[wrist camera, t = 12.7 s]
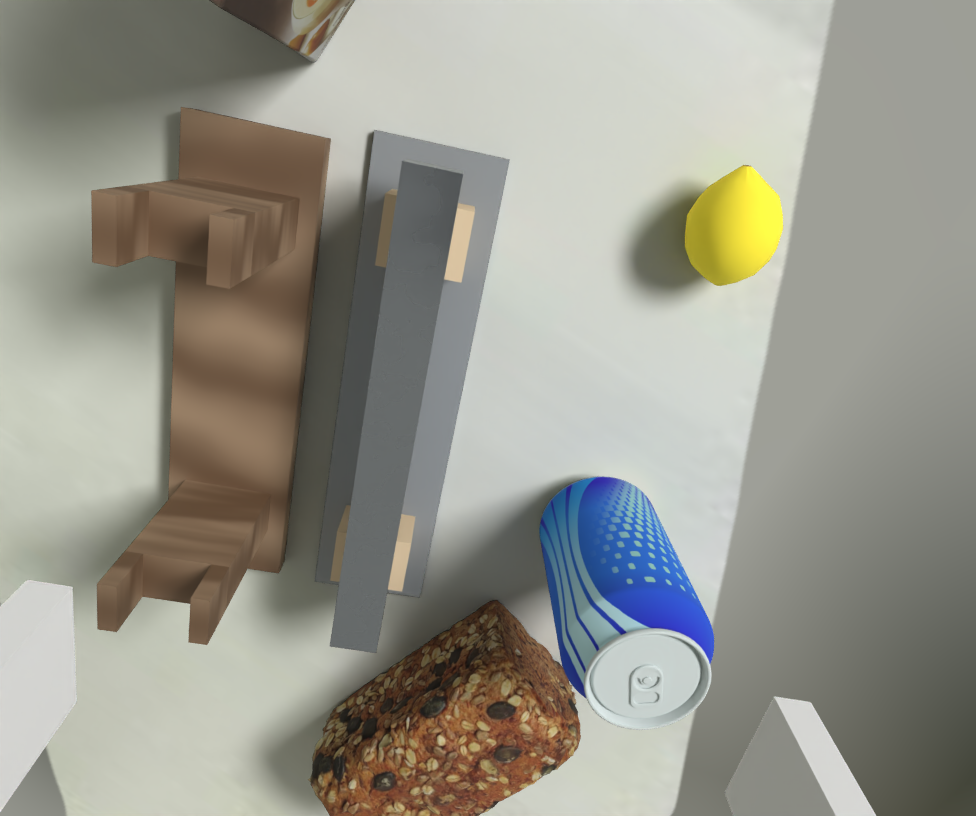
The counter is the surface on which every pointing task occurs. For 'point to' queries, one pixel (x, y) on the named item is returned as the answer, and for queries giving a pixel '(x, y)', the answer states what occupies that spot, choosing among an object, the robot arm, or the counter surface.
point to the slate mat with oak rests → (446, 355)
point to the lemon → (734, 227)
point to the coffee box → (292, 21)
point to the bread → (450, 726)
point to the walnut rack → (222, 354)
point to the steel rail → (395, 395)
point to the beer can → (623, 606)
